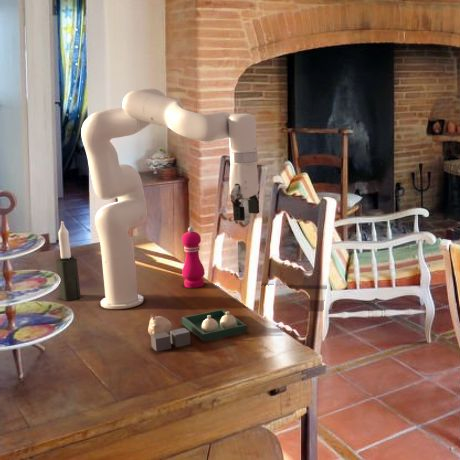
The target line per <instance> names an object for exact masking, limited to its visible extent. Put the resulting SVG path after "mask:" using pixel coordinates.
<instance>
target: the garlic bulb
mask: <svg viewBox="0 0 460 460" xmlns="http://www.w3.org/2000/svg"><path fill="white" fill-rule="evenodd" d="M149 318H150V320H149V324H148V328H147V332H148V334H149V335H150V336H151V335H152V334H157V333H162V332H166V333H168V334H169V335H170V331H171V330H173V324H172V322H171V321H170V320H169V319H168V318H166V317H164V316H162V315H158V316H157V315H155V314H154V313H152V314H151V315H150V316H149Z"/></svg>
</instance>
